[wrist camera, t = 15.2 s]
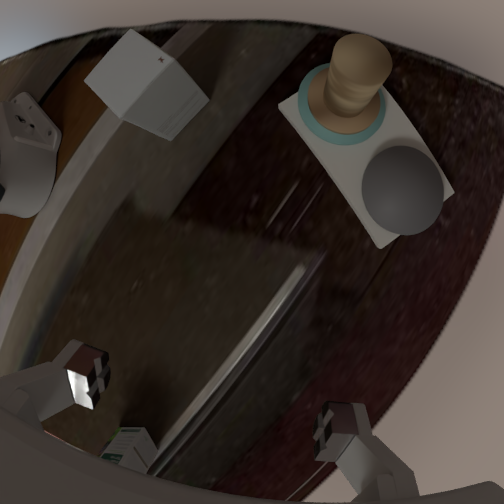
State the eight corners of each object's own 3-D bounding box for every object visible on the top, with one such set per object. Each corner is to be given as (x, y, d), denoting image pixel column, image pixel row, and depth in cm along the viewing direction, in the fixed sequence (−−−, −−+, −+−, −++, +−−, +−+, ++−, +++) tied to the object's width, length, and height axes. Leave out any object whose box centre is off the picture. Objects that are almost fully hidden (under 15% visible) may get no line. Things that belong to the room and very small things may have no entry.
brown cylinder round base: (292, 91, 32) (291, 44, 21) (347, 59, 30) (365, 7, 19) (337, 148, 32) (357, 121, 21) (391, 112, 31) (428, 76, 20)
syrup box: (145, 426, 44) (105, 483, 29) (159, 451, 44) (126, 509, 30) (118, 426, 44) (76, 478, 30) (133, 451, 45) (97, 504, 31)
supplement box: (174, 69, 36) (131, 25, 23) (211, 101, 36) (177, 58, 23) (135, 110, 37) (81, 80, 24) (170, 143, 37) (119, 119, 24)
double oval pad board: (273, 102, 35) (272, 94, 32) (350, 55, 33) (354, 46, 30) (381, 254, 36) (388, 257, 33) (452, 199, 33) (463, 199, 31)
